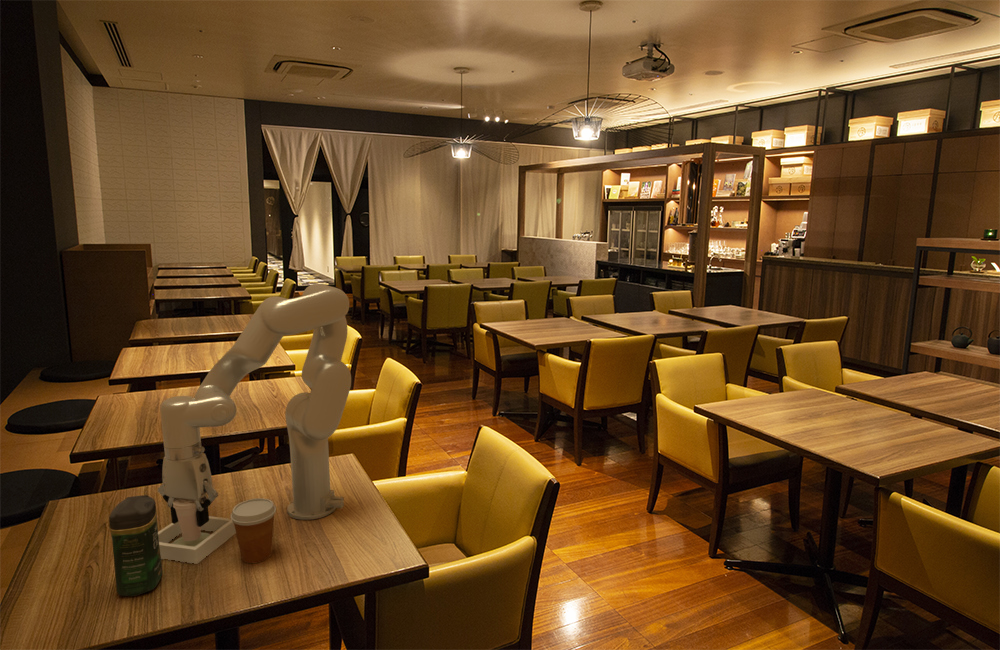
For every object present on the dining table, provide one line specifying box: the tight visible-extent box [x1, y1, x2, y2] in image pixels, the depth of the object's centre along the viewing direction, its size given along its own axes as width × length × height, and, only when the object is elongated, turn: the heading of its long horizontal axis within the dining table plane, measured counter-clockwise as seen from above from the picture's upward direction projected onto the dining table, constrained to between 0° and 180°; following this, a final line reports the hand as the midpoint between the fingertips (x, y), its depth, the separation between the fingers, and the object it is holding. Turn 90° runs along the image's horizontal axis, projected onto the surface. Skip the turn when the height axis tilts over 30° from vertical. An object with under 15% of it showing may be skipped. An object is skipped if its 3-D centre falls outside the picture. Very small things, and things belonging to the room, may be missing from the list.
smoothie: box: [173, 498, 203, 541], centre depth 139 cm, size 6×6×14 cm
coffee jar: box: [108, 494, 163, 597], centre depth 124 cm, size 10×8×19 cm
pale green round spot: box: [171, 532, 211, 547], centre depth 141 cm, size 9×9×1 cm
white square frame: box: [158, 515, 236, 565], centre depth 141 cm, size 14×14×4 cm
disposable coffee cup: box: [230, 497, 277, 564], centre depth 135 cm, size 10×10×12 cm
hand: (190, 521), depth 140 cm, fingers closed on smoothie, 6 cm apart
